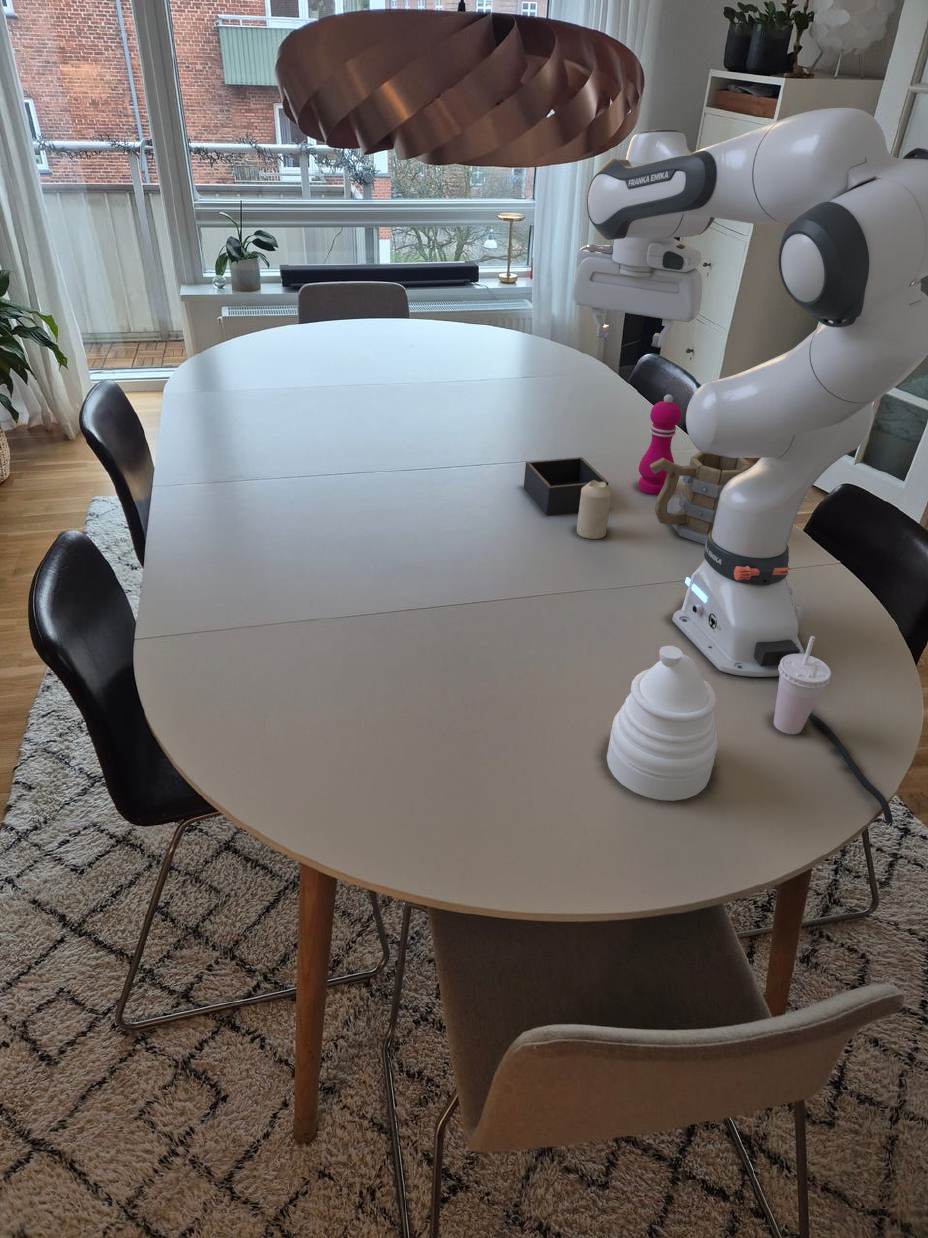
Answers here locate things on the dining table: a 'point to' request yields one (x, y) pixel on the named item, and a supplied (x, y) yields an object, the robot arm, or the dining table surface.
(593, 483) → the candle
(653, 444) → the pepper mill
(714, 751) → the honey pot
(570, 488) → the box
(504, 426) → the dining table surface
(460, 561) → the dining table surface
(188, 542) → the dining table surface
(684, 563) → the dining table surface
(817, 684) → the smoothie
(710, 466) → the tankard
